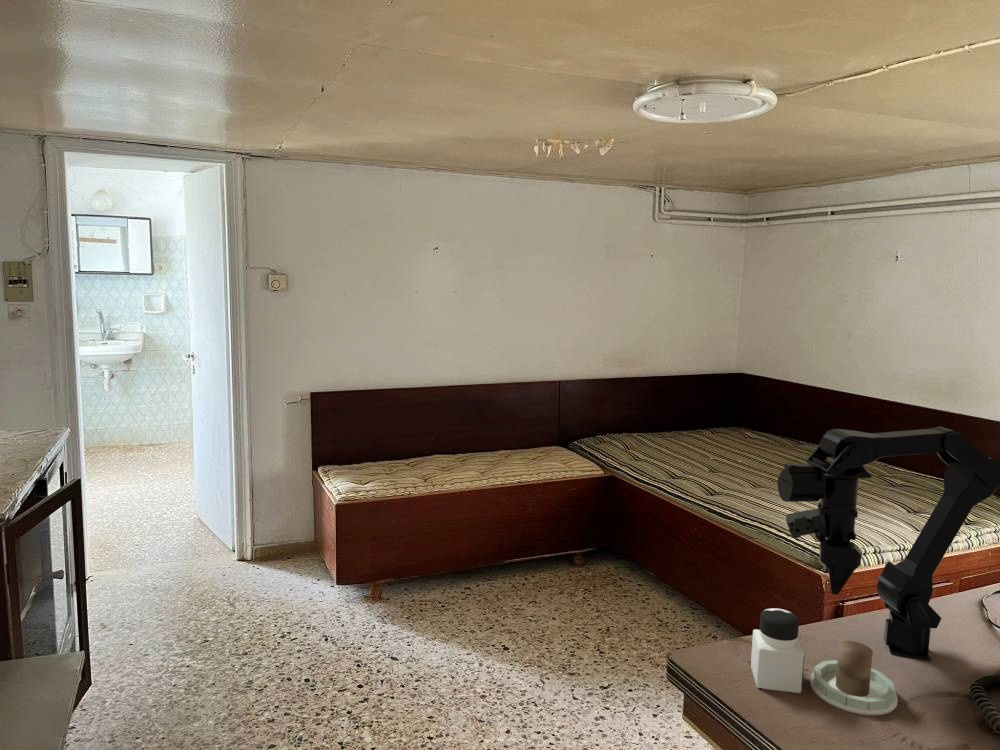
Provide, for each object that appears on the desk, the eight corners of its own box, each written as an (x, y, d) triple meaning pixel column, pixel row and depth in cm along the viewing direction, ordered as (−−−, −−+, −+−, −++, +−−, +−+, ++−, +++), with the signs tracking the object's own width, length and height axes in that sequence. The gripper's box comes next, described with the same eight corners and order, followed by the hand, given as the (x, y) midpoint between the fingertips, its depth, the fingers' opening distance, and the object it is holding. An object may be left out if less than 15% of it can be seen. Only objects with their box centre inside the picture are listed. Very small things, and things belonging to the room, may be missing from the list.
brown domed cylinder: (867, 683, 119) (870, 644, 118) (871, 699, 114) (874, 659, 113) (834, 677, 121) (837, 638, 120) (837, 692, 116) (840, 652, 115)
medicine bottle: (802, 694, 117) (807, 625, 115) (756, 689, 118) (760, 621, 116) (793, 671, 124) (798, 606, 122) (750, 666, 125) (754, 602, 123)
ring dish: (890, 679, 121) (891, 667, 121) (903, 723, 109) (905, 710, 109) (808, 664, 126) (808, 653, 126) (812, 704, 114) (813, 692, 114)
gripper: (788, 482, 138) (783, 558, 140) (792, 511, 121) (786, 597, 123) (851, 488, 134) (845, 566, 136) (865, 519, 117) (857, 608, 119)
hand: (832, 583), depth 129 cm, fingers open, 9 cm apart
